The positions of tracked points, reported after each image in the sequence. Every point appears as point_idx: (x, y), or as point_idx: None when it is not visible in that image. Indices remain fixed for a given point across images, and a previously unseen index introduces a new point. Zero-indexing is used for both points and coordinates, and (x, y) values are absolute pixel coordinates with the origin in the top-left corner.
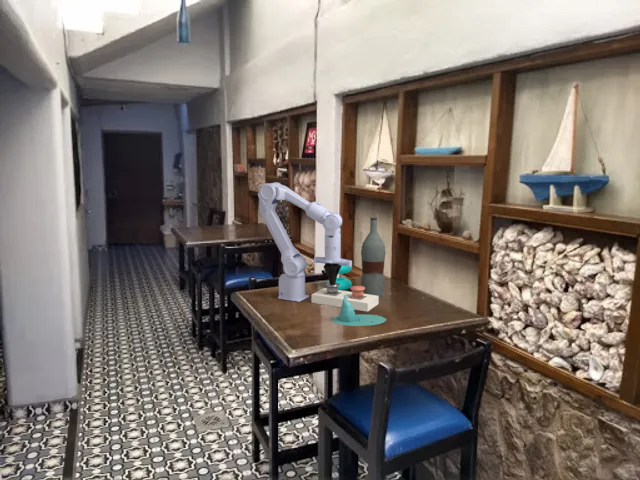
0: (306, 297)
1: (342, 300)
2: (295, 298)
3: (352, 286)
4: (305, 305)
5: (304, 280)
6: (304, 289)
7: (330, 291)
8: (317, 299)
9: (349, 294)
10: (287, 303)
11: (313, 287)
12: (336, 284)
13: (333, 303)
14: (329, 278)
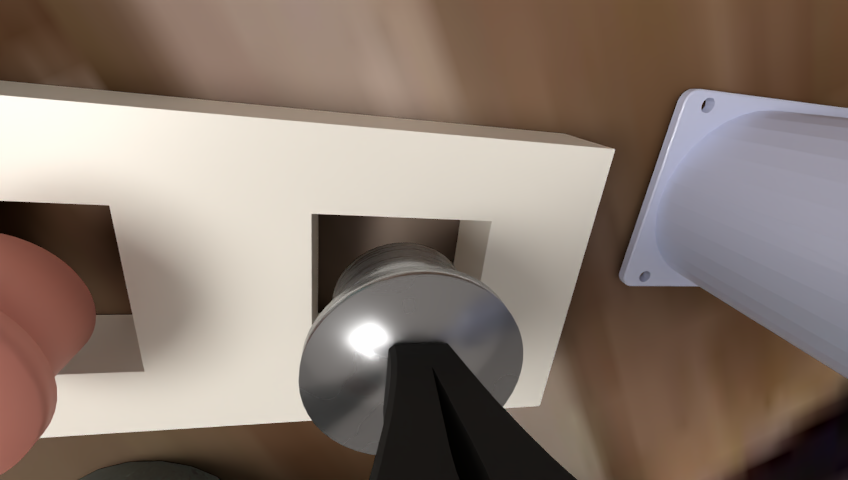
0: (639, 227)
1: (142, 103)
2: (737, 121)
3: (16, 409)
4: (599, 12)
5: (840, 303)
6: (722, 244)
7: (402, 255)
8: (516, 133)
9: (189, 343)
10: (781, 8)
11: (630, 462)
12: (349, 385)
13: (305, 113)
14: (477, 407)
